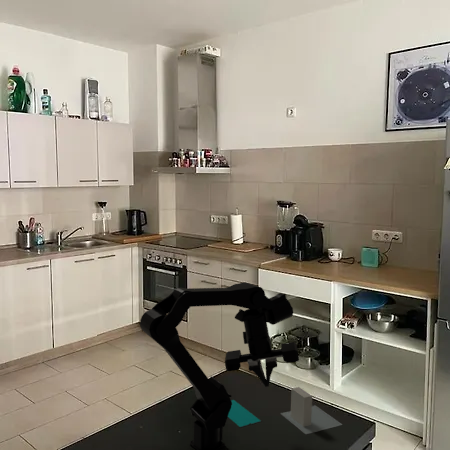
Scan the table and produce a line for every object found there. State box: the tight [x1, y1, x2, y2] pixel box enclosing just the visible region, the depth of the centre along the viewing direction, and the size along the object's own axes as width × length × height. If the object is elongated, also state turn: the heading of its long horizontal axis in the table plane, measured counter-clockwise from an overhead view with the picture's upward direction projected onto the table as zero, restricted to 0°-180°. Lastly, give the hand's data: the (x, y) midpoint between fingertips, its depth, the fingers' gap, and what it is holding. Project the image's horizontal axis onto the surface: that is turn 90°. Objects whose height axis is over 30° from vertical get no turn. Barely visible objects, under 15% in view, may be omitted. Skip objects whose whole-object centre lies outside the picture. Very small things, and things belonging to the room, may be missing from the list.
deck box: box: [290, 386, 313, 427], centre depth 125 cm, size 3×6×8 cm, turn 26°
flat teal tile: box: [227, 398, 263, 429], centre depth 129 cm, size 7×1×15 cm
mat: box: [280, 405, 343, 435], centre depth 126 cm, size 12×12×1 cm
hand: (267, 385), depth 120 cm, fingers closed
